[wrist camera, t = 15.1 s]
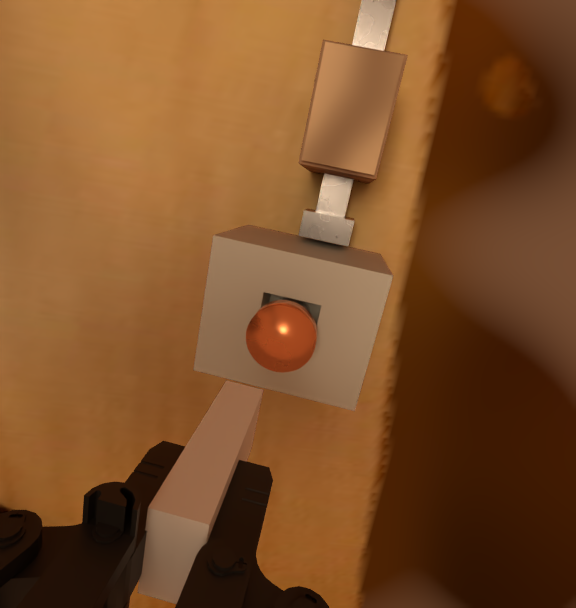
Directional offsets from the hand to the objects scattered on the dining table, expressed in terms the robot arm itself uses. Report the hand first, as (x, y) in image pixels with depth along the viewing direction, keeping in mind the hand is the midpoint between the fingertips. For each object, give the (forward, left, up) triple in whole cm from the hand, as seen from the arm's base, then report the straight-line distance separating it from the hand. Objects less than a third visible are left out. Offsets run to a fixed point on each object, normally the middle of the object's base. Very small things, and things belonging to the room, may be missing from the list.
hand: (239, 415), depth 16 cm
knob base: (0, 0, -22) cm, 22 cm away
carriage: (+1, +14, -22) cm, 26 cm away
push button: (0, 0, -16) cm, 16 cm away
